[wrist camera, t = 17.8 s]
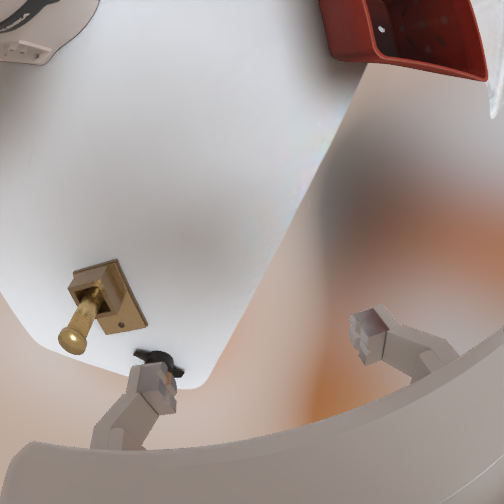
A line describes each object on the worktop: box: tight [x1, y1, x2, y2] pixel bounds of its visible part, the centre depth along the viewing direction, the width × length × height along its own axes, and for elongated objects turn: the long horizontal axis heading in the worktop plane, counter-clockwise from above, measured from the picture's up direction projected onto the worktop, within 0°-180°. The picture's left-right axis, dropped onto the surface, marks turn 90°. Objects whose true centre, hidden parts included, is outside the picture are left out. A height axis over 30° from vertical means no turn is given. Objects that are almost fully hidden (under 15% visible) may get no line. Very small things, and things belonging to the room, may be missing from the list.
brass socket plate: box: [68, 259, 148, 335], centre depth 42 cm, size 9×14×6 cm, turn 11°
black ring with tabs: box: [133, 351, 184, 378], centre depth 51 cm, size 8×10×3 cm
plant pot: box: [319, 0, 488, 82], centre depth 23 cm, size 19×19×17 cm
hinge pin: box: [58, 285, 104, 355], centre depth 35 cm, size 4×4×14 cm
